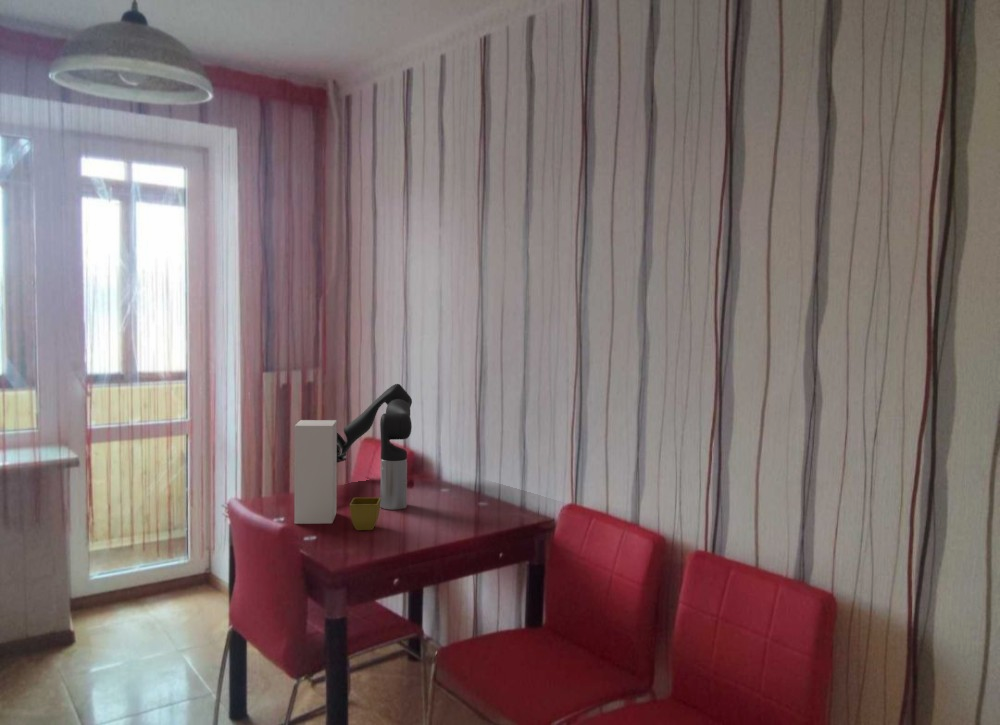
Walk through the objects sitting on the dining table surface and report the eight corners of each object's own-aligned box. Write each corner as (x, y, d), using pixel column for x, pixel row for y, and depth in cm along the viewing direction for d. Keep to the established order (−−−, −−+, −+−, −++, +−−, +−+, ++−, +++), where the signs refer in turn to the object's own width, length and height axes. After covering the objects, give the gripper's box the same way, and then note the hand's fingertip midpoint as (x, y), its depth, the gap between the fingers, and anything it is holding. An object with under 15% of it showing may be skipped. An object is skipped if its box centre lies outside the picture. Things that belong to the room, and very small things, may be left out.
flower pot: (348, 532, 234) (349, 504, 234) (353, 524, 243) (353, 497, 242) (377, 532, 235) (377, 504, 234) (380, 524, 243) (381, 497, 243)
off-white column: (336, 513, 256) (336, 420, 253) (332, 523, 244) (332, 425, 241) (300, 513, 254) (300, 420, 252) (294, 523, 242) (294, 425, 240)
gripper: (349, 461, 291) (344, 471, 274) (313, 462, 290) (306, 472, 272) (349, 442, 291) (344, 451, 273) (313, 442, 289) (306, 451, 272)
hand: (325, 461), depth 273 cm, fingers closed on walnut bar, 2 cm apart
